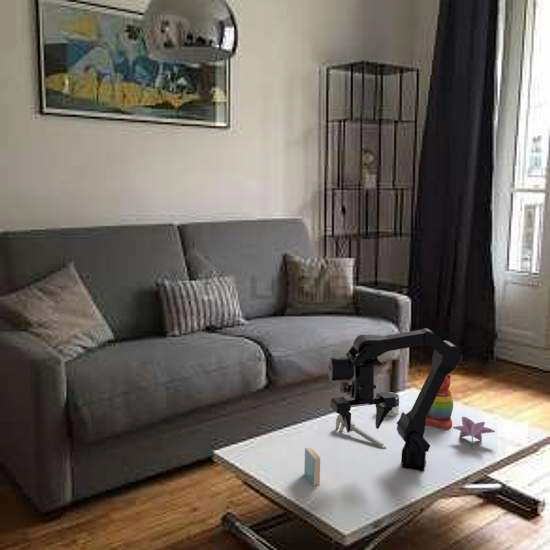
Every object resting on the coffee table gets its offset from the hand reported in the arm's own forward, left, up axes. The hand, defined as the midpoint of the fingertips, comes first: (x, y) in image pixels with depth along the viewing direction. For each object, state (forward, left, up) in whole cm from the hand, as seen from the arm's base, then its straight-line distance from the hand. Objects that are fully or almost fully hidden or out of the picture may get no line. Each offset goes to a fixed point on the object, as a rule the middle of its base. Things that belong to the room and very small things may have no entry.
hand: (362, 430), depth 184 cm
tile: (+12, +12, -12) cm, 20 cm away
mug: (-2, -47, -12) cm, 49 cm away
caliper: (+4, -20, -12) cm, 24 cm away
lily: (-30, -30, -12) cm, 44 cm away
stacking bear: (-19, -43, -12) cm, 49 cm away
